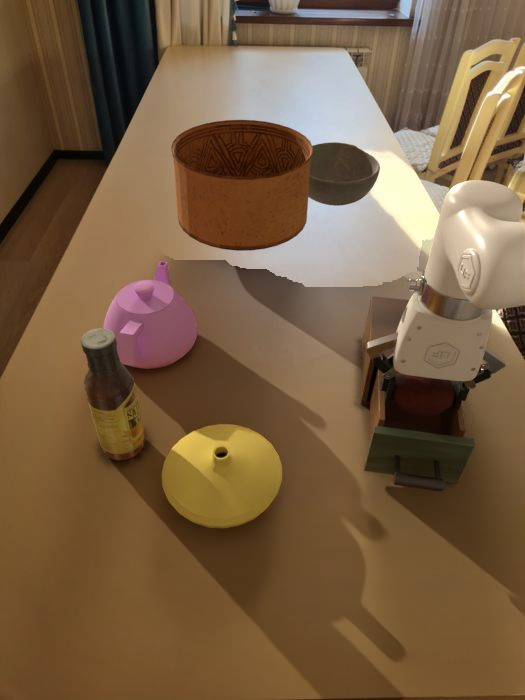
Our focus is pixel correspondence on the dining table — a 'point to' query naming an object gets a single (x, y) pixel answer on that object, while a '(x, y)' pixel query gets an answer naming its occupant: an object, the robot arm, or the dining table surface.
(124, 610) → the dining table surface
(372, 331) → the cabinet
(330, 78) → the dining table surface
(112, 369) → the sauce bottle
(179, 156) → the pot
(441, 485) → the drawer
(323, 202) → the bowl
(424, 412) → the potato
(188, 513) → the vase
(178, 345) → the teapot
